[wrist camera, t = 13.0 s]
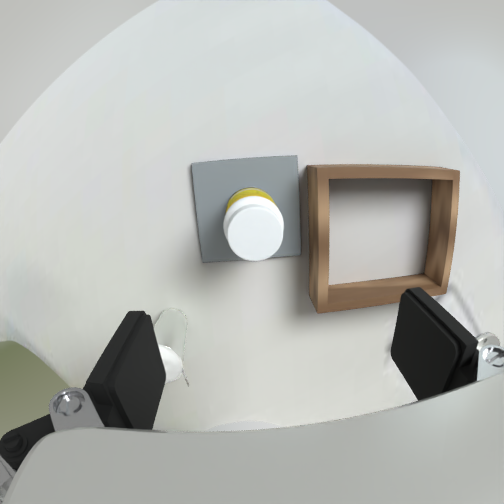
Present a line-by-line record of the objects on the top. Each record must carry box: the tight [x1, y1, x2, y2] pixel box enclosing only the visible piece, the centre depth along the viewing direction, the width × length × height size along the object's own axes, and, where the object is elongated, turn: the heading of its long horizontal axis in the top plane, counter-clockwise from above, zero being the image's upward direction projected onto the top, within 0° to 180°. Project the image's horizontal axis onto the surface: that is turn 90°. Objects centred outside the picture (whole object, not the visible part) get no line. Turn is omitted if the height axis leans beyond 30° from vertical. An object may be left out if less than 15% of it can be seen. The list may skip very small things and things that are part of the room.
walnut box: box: [307, 164, 460, 314], centre depth 29 cm, size 14×16×4 cm
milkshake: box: [153, 308, 189, 387], centre depth 29 cm, size 5×5×10 cm
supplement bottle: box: [223, 187, 284, 261], centre depth 25 cm, size 5×5×8 cm
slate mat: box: [192, 155, 301, 263], centre depth 29 cm, size 10×10×1 cm
